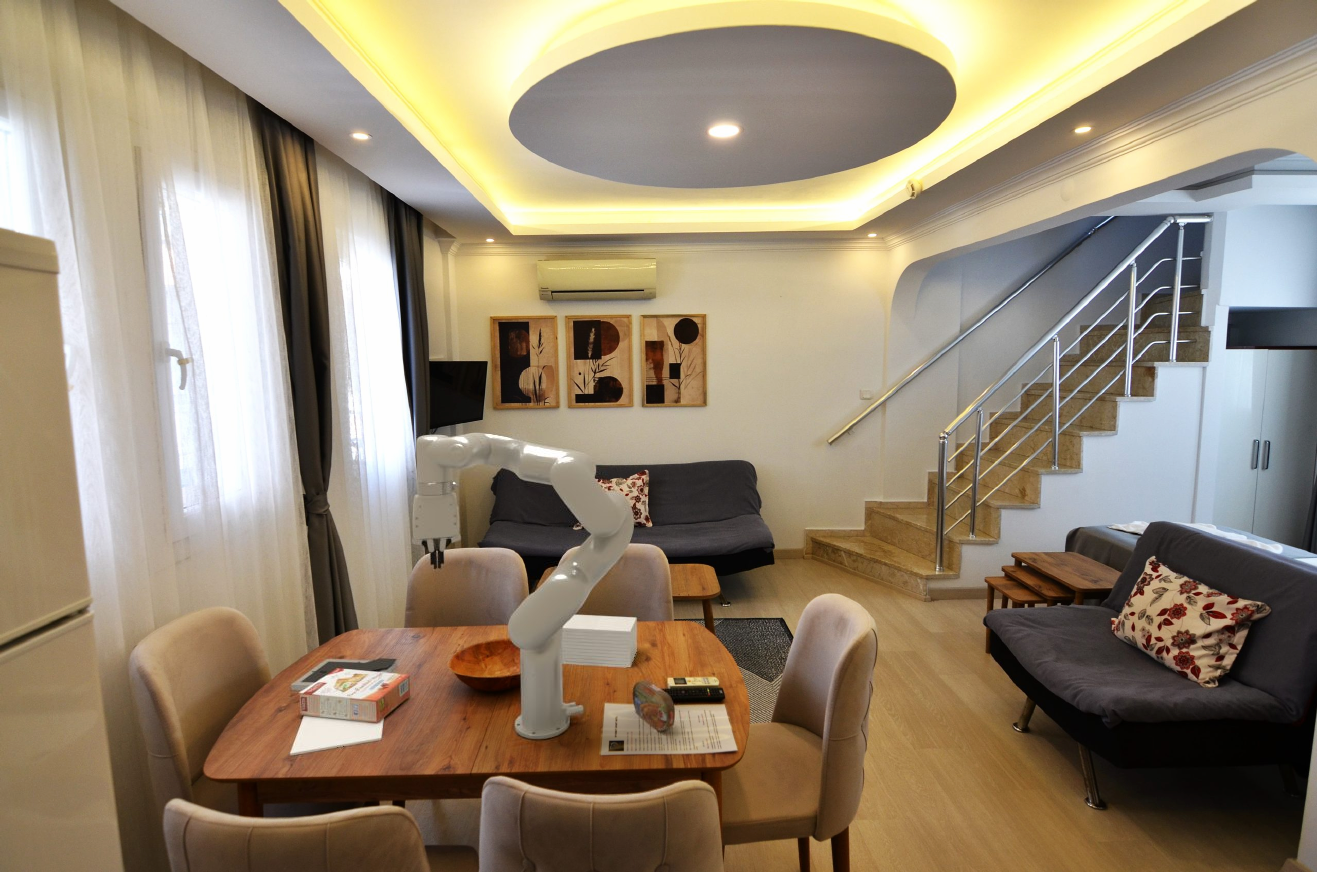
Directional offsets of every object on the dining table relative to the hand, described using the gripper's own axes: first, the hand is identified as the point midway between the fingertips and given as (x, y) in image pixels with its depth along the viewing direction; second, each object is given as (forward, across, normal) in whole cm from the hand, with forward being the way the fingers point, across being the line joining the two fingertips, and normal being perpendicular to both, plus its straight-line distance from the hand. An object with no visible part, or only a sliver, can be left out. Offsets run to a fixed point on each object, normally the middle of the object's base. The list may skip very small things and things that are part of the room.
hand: (437, 567), depth 149 cm
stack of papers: (+38, -39, -24) cm, 59 cm away
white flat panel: (+37, +22, -7) cm, 44 cm away
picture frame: (+38, +24, -32) cm, 55 cm away
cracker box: (+34, +10, -9) cm, 36 cm away
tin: (+37, -47, +17) cm, 62 cm away
